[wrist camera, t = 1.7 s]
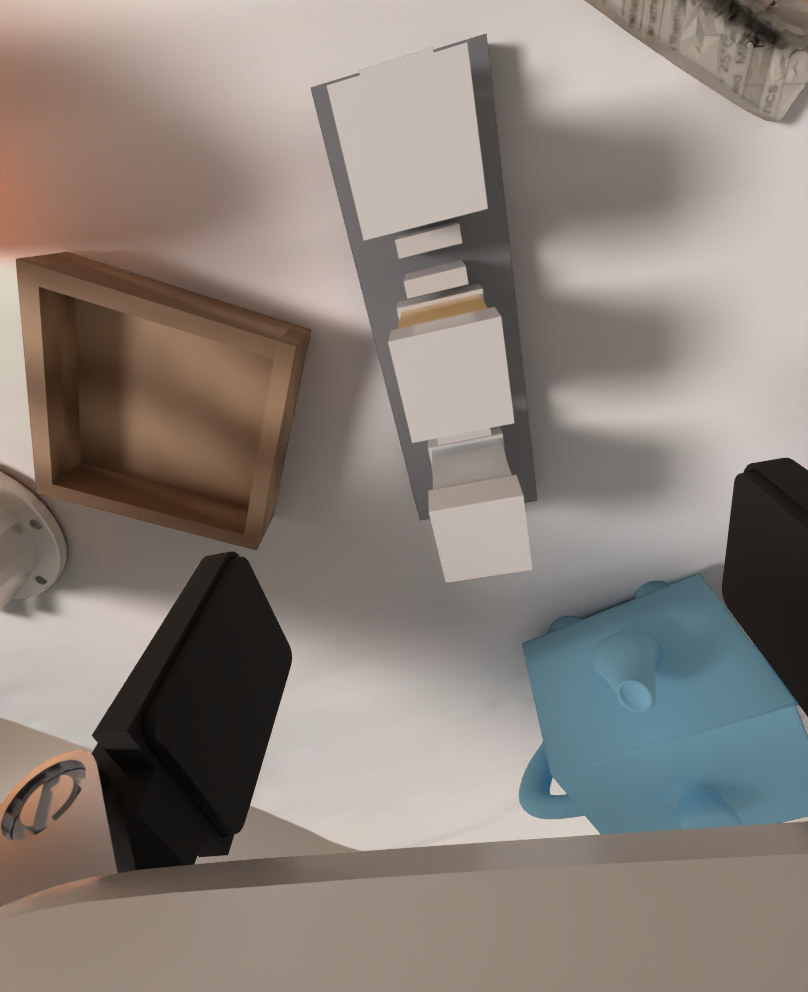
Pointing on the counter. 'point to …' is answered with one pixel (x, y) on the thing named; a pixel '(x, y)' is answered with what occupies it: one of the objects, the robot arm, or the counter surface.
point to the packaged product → (727, 45)
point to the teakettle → (662, 719)
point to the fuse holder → (440, 274)
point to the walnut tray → (156, 398)
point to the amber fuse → (451, 364)
